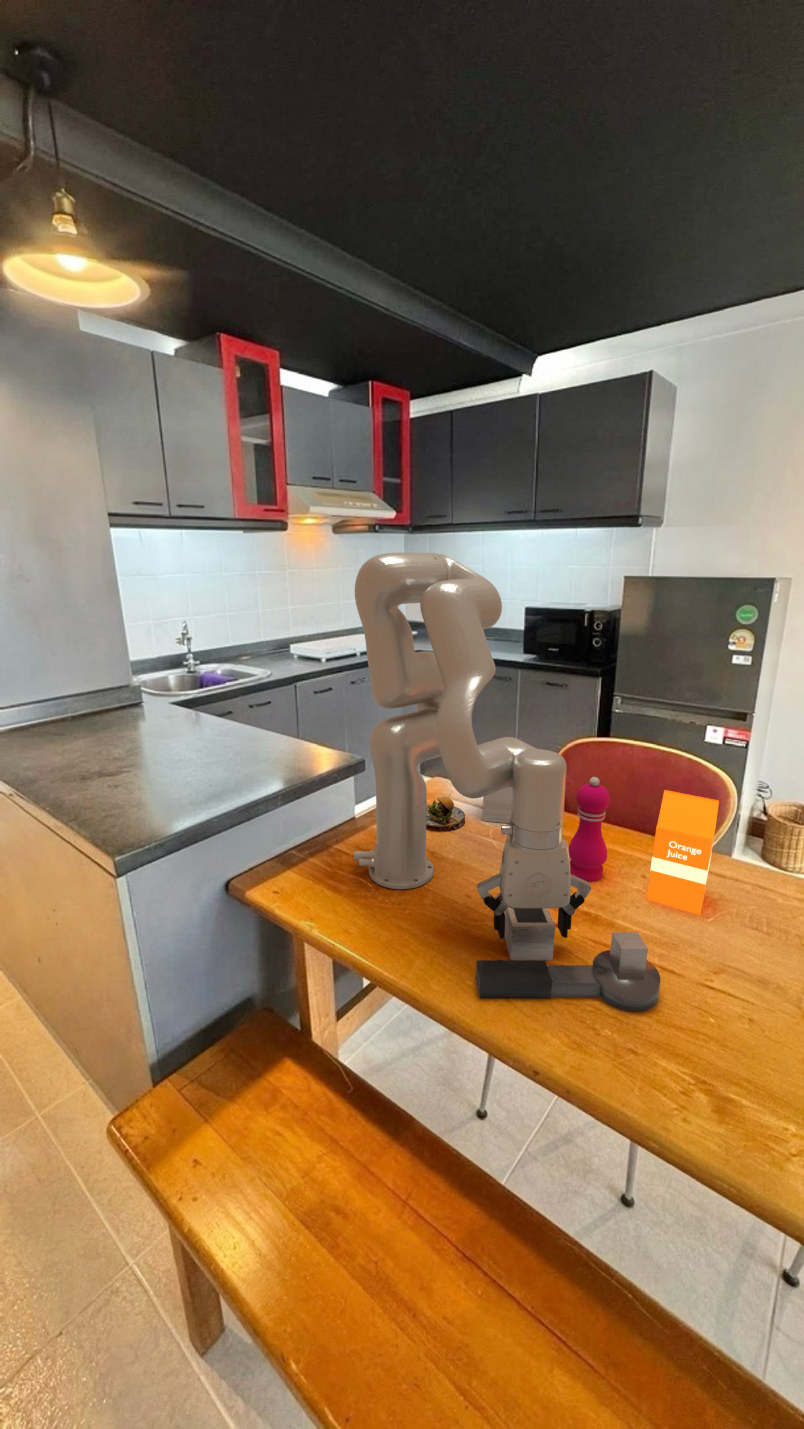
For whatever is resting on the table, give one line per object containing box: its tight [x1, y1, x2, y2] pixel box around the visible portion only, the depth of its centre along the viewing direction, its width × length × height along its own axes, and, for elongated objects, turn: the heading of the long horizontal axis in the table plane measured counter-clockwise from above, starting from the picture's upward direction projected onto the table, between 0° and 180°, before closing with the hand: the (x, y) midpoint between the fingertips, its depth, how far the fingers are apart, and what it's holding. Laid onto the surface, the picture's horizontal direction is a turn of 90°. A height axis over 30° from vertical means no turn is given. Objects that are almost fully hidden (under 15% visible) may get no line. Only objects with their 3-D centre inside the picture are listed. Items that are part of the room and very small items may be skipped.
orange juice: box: [646, 789, 720, 916], centre depth 102 cm, size 8×9×20 cm
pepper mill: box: [568, 776, 611, 882], centre depth 110 cm, size 7×7×20 cm
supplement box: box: [482, 787, 512, 824], centre depth 136 cm, size 9×9×15 cm
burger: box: [426, 790, 466, 833], centre depth 134 cm, size 12×12×8 cm
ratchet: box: [475, 931, 661, 1013], centre depth 82 cm, size 26×9×8 cm, turn 90°
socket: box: [504, 907, 556, 961], centre depth 91 cm, size 6×6×6 cm
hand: (531, 932), depth 90 cm, fingers open, 9 cm apart
